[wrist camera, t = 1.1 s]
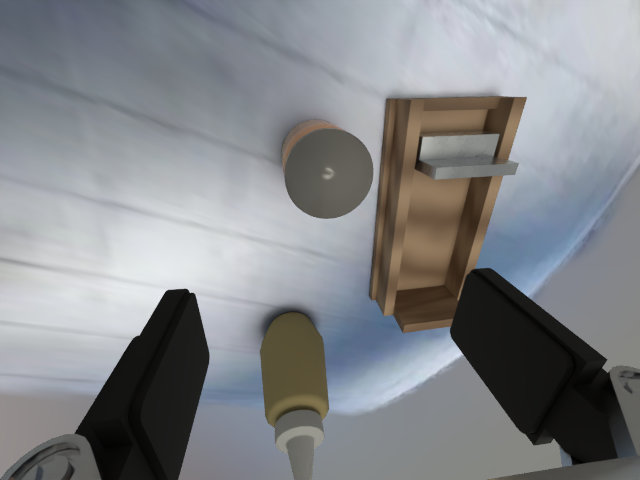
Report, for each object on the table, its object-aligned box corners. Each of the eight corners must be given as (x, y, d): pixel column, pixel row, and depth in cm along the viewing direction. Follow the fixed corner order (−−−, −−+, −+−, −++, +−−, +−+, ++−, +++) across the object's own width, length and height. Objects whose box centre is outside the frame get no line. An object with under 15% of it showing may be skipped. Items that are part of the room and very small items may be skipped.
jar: (278, 120, 26) (281, 131, 19) (349, 118, 27) (376, 127, 20) (284, 190, 29) (288, 221, 22) (347, 186, 30) (370, 215, 23)
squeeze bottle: (274, 297, 35) (276, 460, 20) (329, 312, 38) (369, 467, 23) (252, 341, 38) (239, 512, 23) (304, 352, 41) (325, 512, 25)
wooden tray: (386, 98, 26) (421, 101, 20) (500, 96, 28) (564, 97, 22) (369, 295, 38) (388, 334, 32) (450, 286, 39) (483, 321, 33)
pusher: (410, 133, 27) (441, 142, 22) (481, 130, 28) (526, 138, 23) (406, 164, 28) (434, 179, 23) (474, 160, 29) (514, 174, 24)
